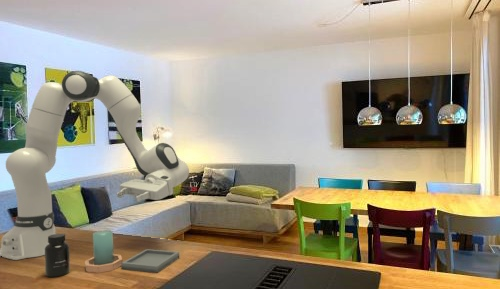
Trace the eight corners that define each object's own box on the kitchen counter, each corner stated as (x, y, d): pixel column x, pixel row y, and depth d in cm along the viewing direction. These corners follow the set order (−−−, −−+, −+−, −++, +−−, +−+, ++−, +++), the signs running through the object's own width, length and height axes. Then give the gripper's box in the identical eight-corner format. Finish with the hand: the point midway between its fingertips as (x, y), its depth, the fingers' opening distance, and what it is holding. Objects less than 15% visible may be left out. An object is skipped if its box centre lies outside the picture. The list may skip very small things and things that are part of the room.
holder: (78, 270, 118) (77, 264, 118) (101, 258, 129) (101, 253, 129) (106, 273, 115) (106, 267, 115) (128, 261, 125) (128, 255, 125)
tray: (121, 269, 118) (121, 262, 118) (146, 254, 132) (146, 249, 132) (157, 273, 114) (156, 266, 114) (179, 257, 128) (179, 251, 128)
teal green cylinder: (90, 268, 120) (88, 234, 119) (102, 261, 125) (101, 229, 125) (105, 270, 118) (104, 235, 117) (117, 263, 124) (116, 230, 123)
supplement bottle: (59, 278, 112) (57, 239, 112) (40, 277, 114) (38, 238, 113) (75, 269, 119) (73, 232, 118) (56, 268, 120) (54, 232, 120)
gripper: (136, 173, 147) (106, 185, 136) (173, 178, 136) (144, 192, 125) (138, 188, 148) (109, 201, 137) (176, 194, 137) (148, 209, 126)
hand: (126, 197), depth 131 cm, fingers open, 8 cm apart
